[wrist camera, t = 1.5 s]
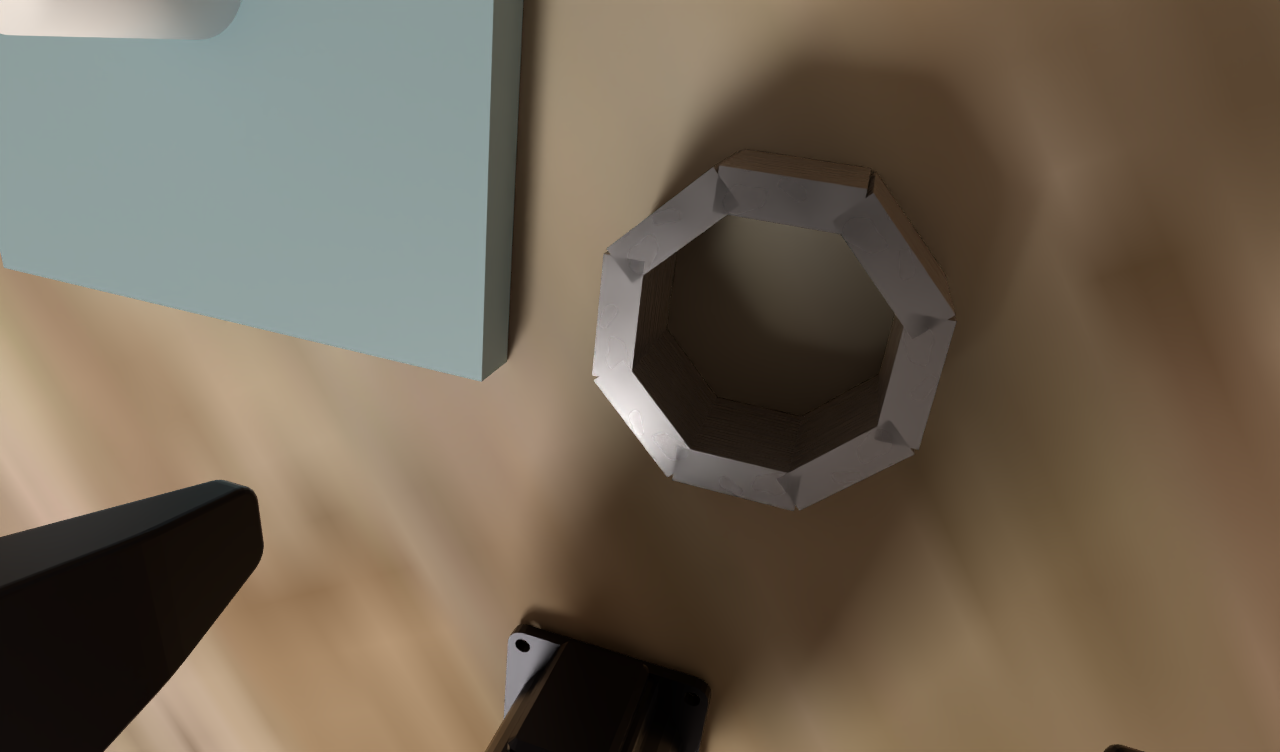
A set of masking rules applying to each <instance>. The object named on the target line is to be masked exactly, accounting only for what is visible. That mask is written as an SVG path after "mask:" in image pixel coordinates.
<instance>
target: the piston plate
mask: <svg viewBox="0 0 1280 752" xmlns="http://www.w3.org/2000/svg"><path fill="white" fill-rule="evenodd" d="M522 19H523V0H0V252H1V257H2V261H3V265H4V268H8V269H12V270H16V271H20V272H24V273H29V274H33V275H37V276H41V277H45V278H50V279H54V280H58V281H62V282H66V283H71V284H75V285H79V286H83V287H87V288H91V289H96V290H100V291H104V292H108V293H112V294H117V295H121V296H125V297H129V298H133V299H138V300H142V301H146V302H150V303H154V304H159V305H163V306H167V307H171V308H175V309H179V310H184V311H188V312H192V313H196V314H200V315H205V316H209V317H213V318H217V319H221V320H226V321H230V322H234V323H238V324H242V325H247V326H251V327H255V328H259V329H263V330H267V331H272V332H276V333H280V334H284V335H288V336H293V337H297V338H301V339H305V340H309V341H314V342H318V343H322V344H326V345H330V346H335V347H339V348H343V349H347V350H351V351H355V352H360V353H364V354H368V355H372V356H376V357H381V358H385V359H389V360H393V361H397V362H402V363H406V364H410V365H414V366H418V367H423V368H427V369H431V370H435V371H439V372H444V373H448V374H452V375H456V376H460V377H464V378H469V379H473V380H477V381H481V382H482V381H483V380H484V379H485V378H487V377H488V376H489V375H491V374H492V373H493V372H494V371H496V370H497V369H498V368H499V367H501V366H502V365H503V364H504V363H506V362H507V348H508V326H509V304H510V282H511V260H512V238H513V216H514V194H515V173H516V151H517V129H518V107H519V85H520V63H521V41H522Z"/></svg>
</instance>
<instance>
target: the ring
mask: <svg viewBox="0 0 1280 752" xmlns="http://www.w3.org/2000/svg"><path fill="white" fill-rule="evenodd" d="M870 172H871V168H865V167H859V166H852V165H846V164H839V163H833V162H826V161H820V160H813V159H807V158H800V157H794V156H787V155H781V154H774V153H768V152H761V151H755V150H748V149H745V150H743V151H741V152H740V151H738V152H736V153H735V154H733V155H732V156H730V157H728V158H727V159H725V160H724V161H722V162H720V163H719V164H717V165H715V166H714V167H712V168H711V169H710V170H708V171H707V172H706V173H705V174H703V175H702V176H701V177H699V178H698V179H697V180H695V181H694V182H693V183H691V184H690V185H689V186H688V187H686V188H685V189H684V190H682V191H681V192H680V193H678V194H677V195H676V196H674V197H673V198H672V199H671V200H669V201H668V202H667V203H665V204H664V205H663V206H661V207H660V208H659V209H658V210H656V211H655V212H654V213H652V214H651V215H650V216H648V217H647V218H646V219H644V220H643V221H642V222H641V223H639V224H638V225H637V226H635V227H634V228H633V229H631V230H630V231H629V232H628V233H626V234H625V235H624V236H622V237H621V238H620V239H618V240H617V241H616V242H614V243H613V244H612V245H611V246H609V247H608V248H607V250H608V251H607V252H606V253H604V256H603V266H602V277H601V287H600V298H599V308H598V319H597V330H596V340H595V351H594V361H593V372H592V375H594V376H597V377H596V379H595V380H594V381H595V383H596V384H597V385H598V387H599V388H600V389H601V391H602V392H603V393H604V395H605V396H606V397H607V398H608V400H609V401H610V402H611V404H612V405H613V406H614V408H615V409H616V410H617V412H618V413H619V414H620V416H621V417H622V418H623V420H624V421H625V422H626V423H627V425H628V426H629V427H630V429H631V430H632V431H633V433H634V434H635V435H636V437H637V438H638V439H639V441H640V442H641V443H642V444H643V446H644V447H645V448H646V450H647V451H648V452H649V454H650V455H651V456H652V458H653V459H654V460H655V462H656V463H657V464H658V466H659V467H660V468H661V469H662V471H663V472H664V473H665V475H666V476H667V477H669V476H670V475H672V474H673V478H672V480H673V481H677V482H681V483H685V484H689V485H692V486H696V487H700V488H704V489H708V490H712V491H716V492H720V493H724V494H728V495H732V496H736V497H740V498H744V499H748V500H751V501H755V502H759V503H763V504H767V505H771V506H775V507H779V508H783V509H787V510H791V511H794V508H795V505H796V507H797V508H798V509H799V511H800V510H802V509H804V508H806V507H808V506H810V505H812V504H814V503H816V502H818V501H820V500H822V499H824V498H826V497H829V496H831V495H833V494H835V493H837V492H839V491H841V490H843V489H845V488H847V487H849V486H851V485H853V484H855V483H857V482H859V481H861V480H863V479H865V478H867V477H869V476H871V475H873V474H875V473H877V472H880V471H882V470H884V469H886V468H888V467H890V466H892V465H894V464H896V463H898V462H900V461H902V460H904V459H906V458H908V457H910V456H912V455H914V454H915V452H914V449H917V450H919V447H920V444H921V440H922V437H923V433H924V430H925V427H926V423H927V420H928V416H929V413H930V410H931V406H932V403H933V400H934V396H935V393H936V389H937V386H938V383H939V379H940V376H941V372H942V369H943V366H944V362H945V359H946V356H947V352H948V349H949V345H950V342H951V339H952V335H953V332H954V328H955V325H956V322H957V321H956V317H955V311H954V307H953V303H952V299H951V295H950V291H949V287H948V282H947V278H946V275H945V274H944V272H943V271H942V269H941V268H940V266H939V265H938V263H937V262H936V260H935V259H934V257H933V256H932V254H931V253H930V251H929V250H928V248H927V247H926V245H925V244H924V242H923V241H922V239H921V238H920V236H919V235H918V233H917V232H916V230H915V229H914V227H913V226H912V224H911V223H910V221H909V220H908V218H907V217H906V215H905V214H904V212H903V211H902V209H901V208H900V206H899V205H898V203H897V202H896V200H895V199H894V197H893V196H892V194H891V193H890V191H889V190H888V188H887V187H886V185H885V184H884V182H883V181H882V179H881V178H880V176H879V175H878V174H877V172H875V173H873V174H872V175H870ZM726 215H733V216H739V217H745V218H750V219H756V220H762V221H768V222H773V223H779V224H785V225H791V226H796V227H802V228H808V229H814V230H820V231H825V232H831V233H837V234H841V236H842V237H843V239H844V240H845V242H846V243H847V245H848V246H849V248H850V249H851V250H852V252H853V253H854V255H855V256H856V258H857V259H858V261H859V262H860V264H861V265H862V266H863V268H864V269H865V271H866V272H867V274H868V275H869V277H870V278H871V280H872V281H873V283H874V284H875V285H876V287H877V288H878V290H879V291H880V293H881V294H882V296H883V297H884V299H885V300H886V301H887V303H888V304H889V306H890V307H891V309H892V310H893V312H894V313H895V315H894V319H893V323H892V327H891V331H890V334H889V338H888V342H887V346H886V350H885V354H884V357H883V361H882V365H881V369H880V373H879V374H878V375H876V376H874V377H873V378H871V379H869V380H867V381H865V382H864V383H862V384H860V385H858V386H856V387H855V388H853V389H851V390H849V391H847V392H846V393H844V394H842V395H840V396H838V397H836V398H835V399H833V400H831V401H829V402H827V403H826V404H824V405H822V406H820V407H818V408H817V409H815V410H813V411H811V412H809V413H807V414H806V415H804V416H802V417H801V416H797V415H792V414H788V413H784V412H779V411H775V410H770V409H766V408H762V407H757V406H753V405H748V404H744V403H740V402H735V401H731V400H726V399H722V398H717V397H716V395H715V394H714V393H713V391H712V390H711V389H710V387H709V386H708V385H707V383H706V382H705V381H704V379H703V378H702V376H701V375H700V374H699V372H698V371H697V370H696V368H695V367H694V366H693V364H692V363H691V362H690V360H689V359H688V357H687V356H686V355H685V353H684V352H683V351H682V349H681V348H680V347H679V345H678V344H677V343H676V341H675V340H674V338H673V337H672V336H671V334H670V333H669V332H668V330H667V323H668V315H669V308H670V300H671V293H672V285H673V278H674V271H675V263H676V256H677V251H678V250H679V249H680V248H682V247H683V246H685V245H686V244H687V243H689V242H690V241H692V240H693V239H694V238H696V237H697V236H698V235H700V234H701V233H703V232H704V231H705V230H707V229H708V228H709V227H711V226H712V225H714V224H715V223H716V222H718V221H719V220H721V219H722V218H723V217H725V216H726Z"/></svg>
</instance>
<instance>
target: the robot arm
mask: <svg viewBox="0 0 1280 752" xmlns="http://www.w3.org/2000/svg"><path fill="white" fill-rule="evenodd" d="M263 548H264V542H263V535H262V527H261V520H260V512H259V505H258V499H257V496H256V494H255V493H254V491H253V490H252V489H250V488H249V487H246V486H243V485H239V484H236V483H233V482H229V481H225V480H214V481H210V482H206V483H202V484H199V485H195V486H191V487H187V488H184V489H180V490H176V491H172V492H169V493H165V494H161V495H157V496H154V497H150V498H146V499H142V500H139V501H135V502H131V503H127V504H123V505H120V506H116V507H112V508H108V509H105V510H101V511H97V512H93V513H90V514H86V515H82V516H78V517H75V518H71V519H67V520H63V521H60V522H56V523H52V524H48V525H44V526H41V527H37V528H33V529H29V530H26V531H22V532H18V533H14V534H11V535H7V536H3V537H0V752H104V751H105V750H106V749H107V748H108V746H109V745H110V744H111V743H112V742H113V741H114V740H115V739H116V738H117V737H118V736H119V735H120V733H121V732H122V731H123V730H124V729H125V728H126V727H127V726H128V725H129V724H130V723H131V721H132V720H133V719H134V718H135V717H136V716H137V715H138V714H139V713H140V712H141V711H142V710H143V708H144V707H145V706H146V705H147V704H148V703H149V702H150V701H151V700H152V699H153V698H154V696H155V695H156V694H157V693H158V692H159V691H160V690H161V688H162V687H163V686H164V685H165V684H166V683H167V682H168V681H169V679H170V678H171V677H172V676H173V675H174V673H175V672H176V671H177V670H178V668H179V667H180V666H181V665H182V663H183V662H184V661H185V660H186V658H187V657H188V656H189V655H190V653H191V652H192V651H193V649H194V648H195V647H196V645H197V644H198V643H199V642H200V640H201V639H202V638H203V636H204V635H205V634H206V632H207V631H208V630H209V629H210V627H211V626H212V625H213V623H214V622H215V621H216V619H217V618H218V617H219V616H220V614H221V613H222V612H223V610H224V609H225V608H226V606H227V605H228V604H229V602H230V601H231V600H232V599H233V597H234V596H235V595H236V593H237V592H238V591H239V589H240V588H241V587H242V586H243V584H244V583H245V582H246V580H247V579H248V578H249V576H250V575H251V574H252V573H253V571H254V570H255V569H256V567H257V566H258V564H259V562H260V560H261V557H262V554H263ZM522 639H523V640H525V641H527V642H528V643H529V644H527V643H525V642H524V641H523V640H522ZM689 692H690V693H694V694H696V695H698V696H693V695H691V694H689ZM710 697H711V689H710V687H709V686H708V684H707V683H706V682H705V681H704V680H702V679H700V678H698V677H695V676H691V675H688V674H685V673H682V672H678V671H675V670H672V669H669V668H666V667H662V666H659V665H656V664H653V663H649V662H646V661H643V660H640V659H636V658H633V657H630V656H627V655H624V654H620V653H617V652H614V651H611V650H607V649H604V648H601V647H598V646H594V645H591V644H588V643H585V642H582V641H578V640H575V639H572V638H569V637H565V636H562V635H559V634H556V633H552V632H549V631H546V630H543V629H540V628H536V627H533V626H530V625H524V624H523V625H519V626H517V627H516V628H515V629H514V631H513V632H512V634H511V635H510V637H509V640H508V652H507V670H506V688H505V707H504V720H503V722H502V723H501V725H500V727H499V729H498V730H497V732H496V734H495V735H494V737H493V739H492V741H491V742H490V744H489V746H488V747H487V749H486V751H485V752H700V747H701V742H702V737H703V732H704V727H705V722H706V717H707V712H708V707H709V702H710ZM1104 752H1144V751H1140V750H1137V749H1134V748H1130V747H1127V746H1123V745H1119V744H1116V745H1110V746H1109V747H1108V748H1106V749H1105V751H1104Z"/></svg>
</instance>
